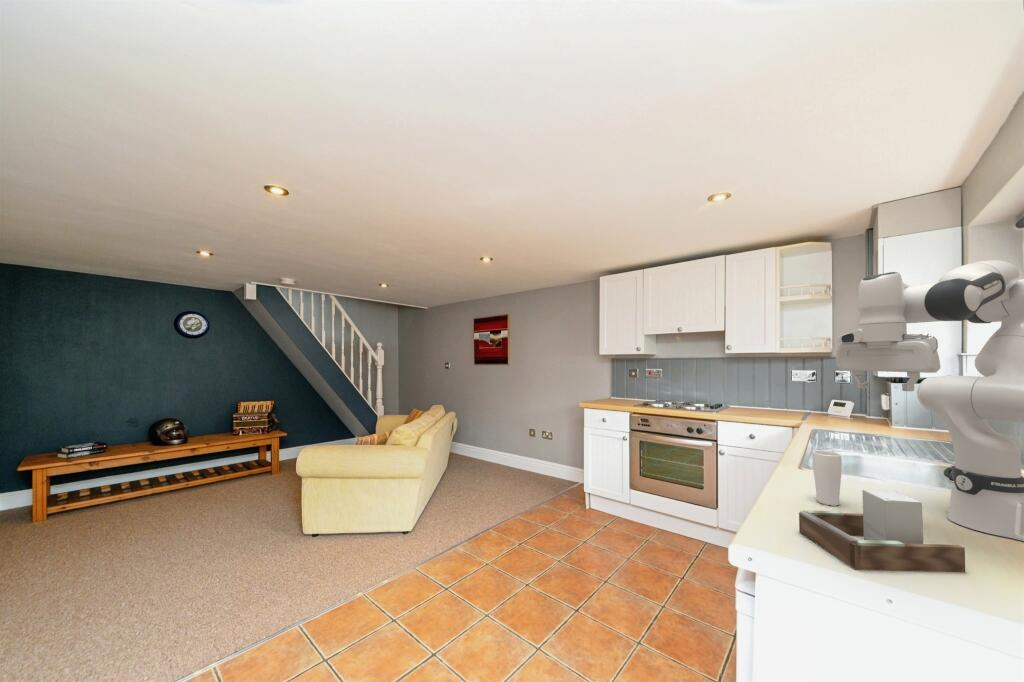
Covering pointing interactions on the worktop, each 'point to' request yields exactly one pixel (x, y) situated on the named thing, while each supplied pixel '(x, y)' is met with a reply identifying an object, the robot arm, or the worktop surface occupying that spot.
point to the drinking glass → (827, 476)
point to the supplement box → (892, 517)
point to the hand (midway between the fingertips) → (884, 389)
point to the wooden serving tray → (875, 545)
